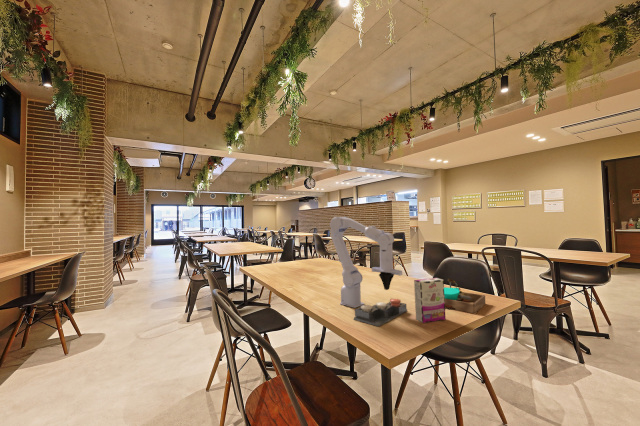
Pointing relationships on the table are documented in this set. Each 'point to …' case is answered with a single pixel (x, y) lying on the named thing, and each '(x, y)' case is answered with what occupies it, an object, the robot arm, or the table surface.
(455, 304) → the brown wooden tray
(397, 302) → the plug red
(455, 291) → the contraption on wooden base
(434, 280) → the candy bar box
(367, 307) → the cream mushroom knob
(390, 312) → the panel
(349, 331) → the table surface
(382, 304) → the plug cream mid
